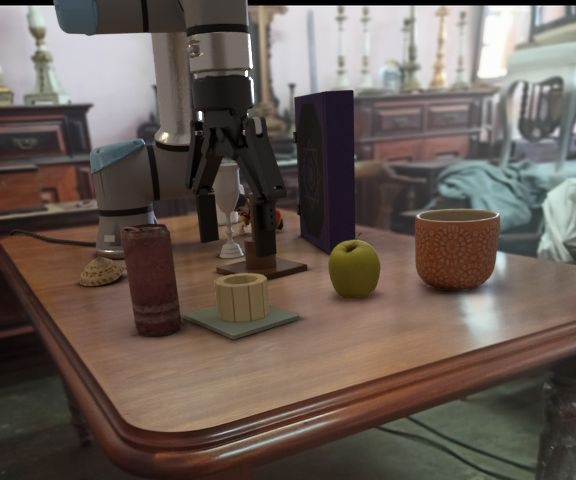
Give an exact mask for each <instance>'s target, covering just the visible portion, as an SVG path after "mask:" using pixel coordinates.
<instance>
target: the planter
mask: <svg viewBox="0 0 576 480" xmlns="http://www.w3.org/2000/svg"><path fill="white" fill-rule="evenodd" d="M500 227H501V214H500V213H499V212H497V211H493V210H488V209H481V208H480V209H479V208H444V209H443V208H442V209H433V210H427V211H423V212H422V211H421V212H419V213H416V215H415V218H414V251H415V252H414V256H415V257H414V259H415V260H414V262H415V269H416V272H417V275H418V276H419V278H420V279H421V281H423V282H424V283H425V284H426V285H427V286H429V287H431V288H433V289H436V290H441V291H449V292H453V291H454V292H458V291H459V292H461V291H469V290H474V289H477V288H479V287H480V286H483V284H485V283H486V282H487V281H488V280H489V279H490V278H491V276H492V275H493V273H494V271H495V266H496V262H497V254H498V245H499V237H500V230H501V229H500Z"/></svg>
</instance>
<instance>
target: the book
mask: <svg viewBox="0 0 576 480" xmlns="http://www.w3.org/2000/svg"><path fill="white" fill-rule="evenodd" d="M354 92H355V91H354V90H353V89H342V90H341V89H340V90H324V91H318V92H315V93H308V94H304V95H298V96H294V97H293V104H294V105H293V107H294V124H295V125H294V127H295V131H293V132H292V137H293V138H292V139H293V144H295V147H296V164H297V165H296V167H297V169H296V170H297V189H298V190H297V191H298V203H296V215H297V216H299V231H300V236H301V237H302V238H304V239H305V240H307V241H308V242H309V243H311V244H313V245H315V246H316V247H318V248H319V249H321V250H322V251H323V252H325V253H327V254H328V255H329V256H330V255H331V252H332V251H333V249H334V248H335V247H336V246H337V245H338V244H340V243H342V242H344V241H350V240H356V238H357V236H356V173H355V170H356V167H355V166H356V165H355V161H356V160H355V100H354V99H355V96H354V95H355V93H354Z"/></svg>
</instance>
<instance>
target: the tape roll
mask: <svg viewBox="0 0 576 480" xmlns="http://www.w3.org/2000/svg"><path fill="white" fill-rule="evenodd" d="M213 284H214V293H215V301H216V302H215V303H216V305H217V313H218V317H219V318H220V319H221V320H224V321H230V322H235V321H236V322H248V321H250V320H251V321H254V320H257V319H260V318H264V317H265V316H266V315H267V314H268V313H269V305H270V304H269V303H270V302H269V290H268V289H269V288H268V280H267V277H265V276H264V275H261V274H254V273H249V274H248V273H240V274H234V275H233V274H231V275H223V276H221V277H218V278H217V279H215V280H214V283H213Z"/></svg>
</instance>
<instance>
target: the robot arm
mask: <svg viewBox="0 0 576 480" xmlns="http://www.w3.org/2000/svg"><path fill="white" fill-rule="evenodd" d="M248 5H249V4H248V0H53V6H54V12H55V16H56V21H57V24H58V26H59V29H60V30H61V31H62V32H63V33H65V34H67V35H85V36H87V37H91V36H95V35H97V36H98V35H99V36H100V35H124V34H128V35H129V34H150V35H151V36H150V37H151V45H152V57H153V64H154V75H155V84H156V93H157V104H158V112H159V113H158V115H159V122H160V128H159V129H158V130H157V131H156V132H155V134H154V144H146V141H144V139H143V138H135V139H130V140H124V141H119V142H114V143H110V144H105V145H101V146H96V147H94V148H93V149H92V150H91V151H90V152H89V165H90V174H91V175H92V180H93V188H94V192H95V199H96V206H97V211H98V219H99V222H98V228H97V234H96V235H97V236H96V240H95V241H83V240H73V239H72V240H71V239H62V238H61V239H60V238H53V237H52V238H51V237H48V236H44V235H42V236H40V235H41V234H39V235H37V234H38V233H36V232H33V231H27V230H23V229H18V228H15V229H12V230H11V231H10V233H9V236H13V235H15V233H18V234H19V233H20V234H23V235H27V236H33V237H35V238H38V239H40V240H43V241H46V242H52V243H58V244H68V245H69V244H70V245H79V246H93V247H95V251H96V257H103V258H108V259H111V260H113V259H115V260H119V259H125V257H124V251H123V247H122V241H121V230H122V229H123V228H124V227H130V226H135V225H142V224H159V221H158V220H157V218H156V216H155V211H154V205H153V202H160V201H168V200H169V201H170V200H182V199H195V206H196V215H197V221H198V230H199V232H198V233H199V241H200V243H201V244H208V243H211V242H217V241H220V232H219V226H218V221H217V211H216V200H215V194H212V193H214V192H215V191H213V190H214V189H213V187H212V186H213V184H214V181H215V178H216V175H217V172H218V170H219V167H220V164H222V161H223V160H224V158H225V157H229V158H230V160H232V161H234V162H235V163H237V165H238V167H239V171H240V173H241V175H242V176H243V178H244V181H245V182H246V184H247V186H248V189H249V190H250V192H251V193H253V195H254V197H255V200H254V202H253V203H252V204H253V205H252V206H253V220H254V233H255V247H256V257H258V258H261V257H266V256H270V255H274V254H276V255H277V254H278V251H277V250H278V249H277V237H276V235H277V233H276V230H275V229H276V226H277V224H276V209H277V206H276V204H277V202H278V201H280V200H281V199H285V198H287V196H288V191H287V190H288V189H287V188H286V184H285V182H284V178H283V177H282V173H281V170H280V167H279V164H278V162H277V159H276V154H275V152H274V150H273V147H272V144H271V141H270V138H269V134H268V125H267V120H266V117H265V116H249V113H248V110H251V109H253V108H254V106H255V92H254V79H253V78H252V77H251V76H249V74H248V73H249V72H251V71H252V70H253V58H252V44H251V43H252V42H251V34H250V27H249V26H250V23H249V8H248V7H249V6H248ZM202 114H203V116H202ZM202 117H203V118H202ZM262 192H263V193H262Z"/></svg>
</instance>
